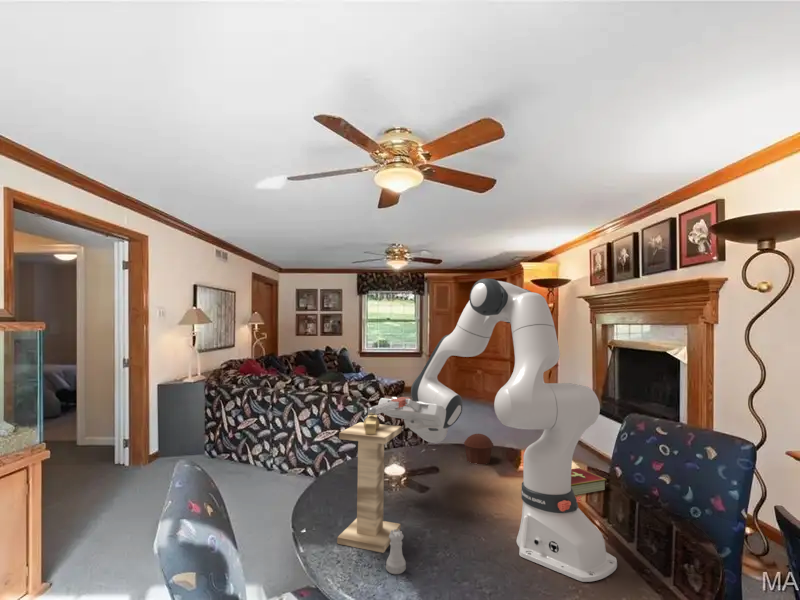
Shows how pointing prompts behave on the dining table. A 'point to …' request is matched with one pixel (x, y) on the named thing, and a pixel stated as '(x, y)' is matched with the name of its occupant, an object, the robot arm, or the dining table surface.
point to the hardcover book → (586, 481)
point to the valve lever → (387, 406)
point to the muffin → (478, 448)
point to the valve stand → (369, 486)
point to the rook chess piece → (396, 554)
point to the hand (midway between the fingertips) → (400, 400)
